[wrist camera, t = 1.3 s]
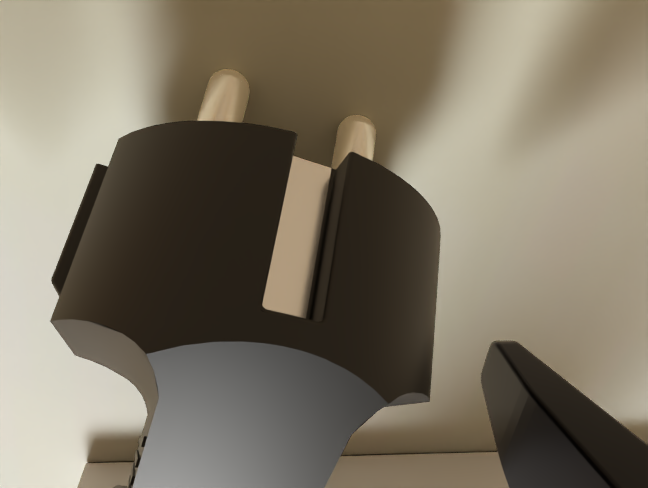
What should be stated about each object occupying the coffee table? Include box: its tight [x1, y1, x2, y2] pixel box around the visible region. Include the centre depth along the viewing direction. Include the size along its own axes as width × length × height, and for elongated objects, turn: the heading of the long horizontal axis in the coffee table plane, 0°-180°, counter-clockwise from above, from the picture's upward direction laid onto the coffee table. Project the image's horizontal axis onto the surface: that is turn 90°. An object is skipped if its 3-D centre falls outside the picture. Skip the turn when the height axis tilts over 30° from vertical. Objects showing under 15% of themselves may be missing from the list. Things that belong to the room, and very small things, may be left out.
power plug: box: [51, 69, 441, 488], centre depth 11 cm, size 6×8×12 cm
